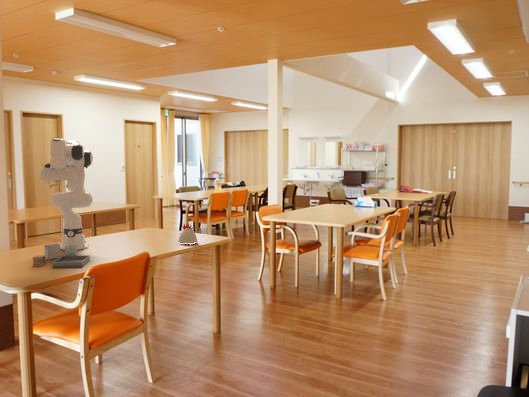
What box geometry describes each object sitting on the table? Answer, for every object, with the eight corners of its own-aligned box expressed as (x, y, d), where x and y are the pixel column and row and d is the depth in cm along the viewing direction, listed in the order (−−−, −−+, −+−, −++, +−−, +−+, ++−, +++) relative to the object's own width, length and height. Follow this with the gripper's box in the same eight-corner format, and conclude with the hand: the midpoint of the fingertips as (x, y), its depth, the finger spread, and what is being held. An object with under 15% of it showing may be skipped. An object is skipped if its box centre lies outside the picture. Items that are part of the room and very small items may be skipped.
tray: (62, 260, 276) (62, 255, 276) (89, 260, 278) (89, 255, 278) (52, 267, 258) (52, 262, 258) (81, 267, 260) (81, 262, 260)
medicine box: (57, 256, 287) (56, 243, 287) (60, 257, 285) (60, 244, 284) (44, 258, 281) (44, 244, 281) (47, 259, 278) (47, 245, 278)
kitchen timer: (180, 241, 345) (180, 222, 344) (198, 242, 345) (198, 222, 344) (176, 245, 331) (176, 224, 330) (195, 245, 331) (195, 224, 330)
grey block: (66, 258, 284) (66, 245, 283) (78, 258, 284) (78, 245, 284) (63, 260, 277) (62, 247, 276) (75, 260, 278) (75, 247, 277)
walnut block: (36, 263, 268) (36, 255, 268) (45, 263, 269) (45, 255, 268) (33, 265, 263) (33, 257, 263) (42, 265, 264) (42, 257, 263)
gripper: (77, 165, 285) (77, 187, 286) (40, 165, 278) (41, 187, 279) (77, 165, 279) (77, 188, 280) (39, 165, 272) (40, 188, 273)
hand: (59, 187), depth 279 cm, fingers open, 8 cm apart
